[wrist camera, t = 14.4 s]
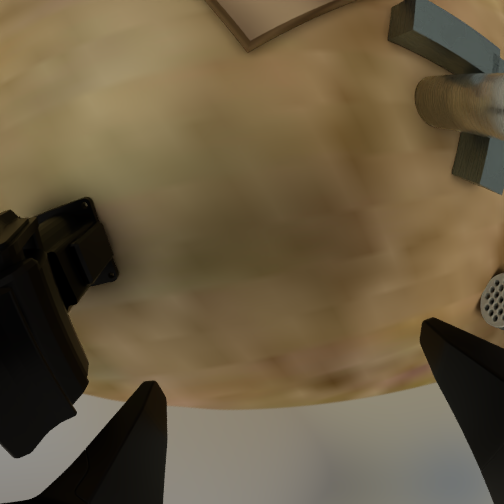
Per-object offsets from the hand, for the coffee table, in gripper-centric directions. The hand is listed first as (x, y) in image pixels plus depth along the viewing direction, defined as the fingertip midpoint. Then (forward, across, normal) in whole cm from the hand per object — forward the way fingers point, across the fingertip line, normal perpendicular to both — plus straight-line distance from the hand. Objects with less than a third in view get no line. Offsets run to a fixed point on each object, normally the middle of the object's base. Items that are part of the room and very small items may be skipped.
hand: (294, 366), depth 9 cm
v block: (+13, -18, -8) cm, 23 cm away
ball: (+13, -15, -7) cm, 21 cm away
